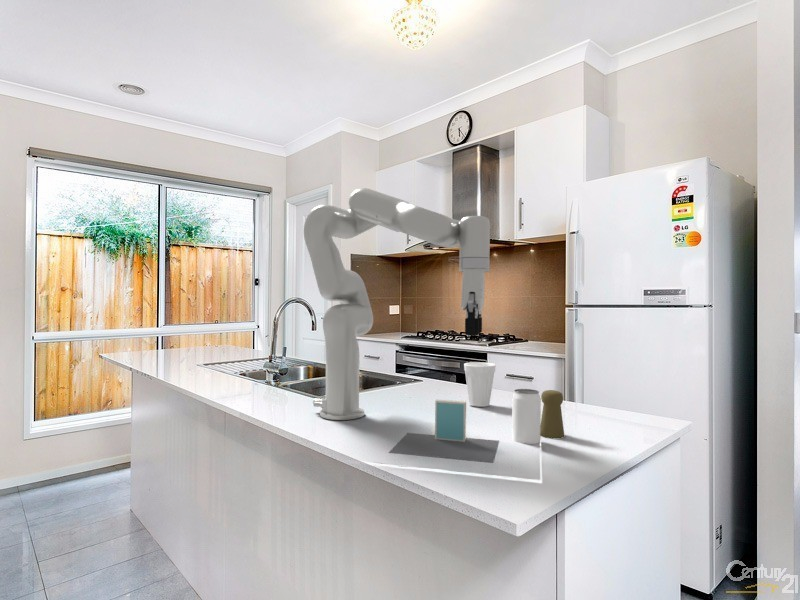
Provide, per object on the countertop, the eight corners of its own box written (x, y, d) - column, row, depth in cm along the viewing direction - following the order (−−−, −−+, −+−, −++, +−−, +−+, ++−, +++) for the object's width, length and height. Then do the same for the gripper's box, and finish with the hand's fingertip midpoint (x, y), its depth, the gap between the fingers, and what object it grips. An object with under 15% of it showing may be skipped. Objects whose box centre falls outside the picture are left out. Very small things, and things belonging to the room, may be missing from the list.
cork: (551, 439, 117) (552, 393, 117) (533, 433, 122) (534, 389, 122) (570, 436, 120) (570, 391, 120) (551, 430, 125) (552, 387, 125)
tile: (434, 439, 114) (435, 400, 114) (436, 437, 116) (436, 399, 116) (464, 441, 112) (465, 402, 112) (465, 439, 114) (466, 401, 114)
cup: (475, 400, 161) (475, 361, 161) (501, 405, 154) (502, 364, 154) (456, 405, 153) (457, 363, 153) (483, 410, 146) (483, 367, 146)
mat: (388, 455, 104) (388, 452, 104) (407, 435, 120) (407, 432, 120) (493, 465, 98) (493, 462, 98) (499, 443, 114) (499, 440, 114)
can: (535, 447, 110) (536, 394, 110) (508, 443, 114) (508, 391, 114) (543, 440, 116) (544, 390, 116) (517, 436, 119) (517, 387, 119)
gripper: (463, 268, 132) (463, 331, 132) (454, 263, 116) (454, 335, 116) (491, 267, 131) (491, 332, 131) (486, 263, 114) (486, 336, 114)
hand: (473, 333), depth 123 cm, fingers open, 9 cm apart
